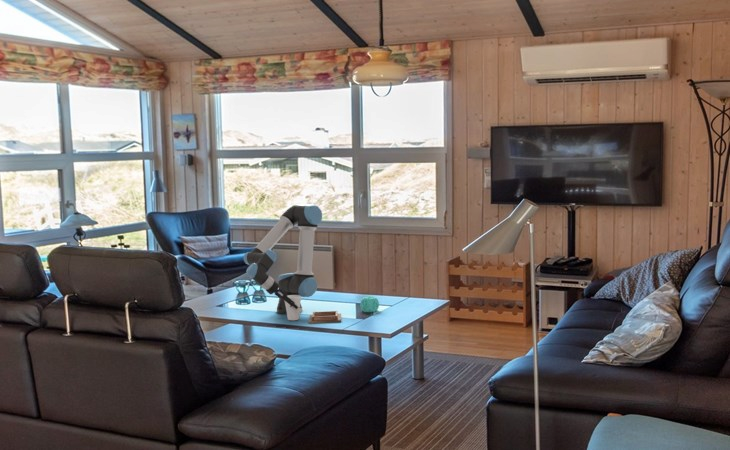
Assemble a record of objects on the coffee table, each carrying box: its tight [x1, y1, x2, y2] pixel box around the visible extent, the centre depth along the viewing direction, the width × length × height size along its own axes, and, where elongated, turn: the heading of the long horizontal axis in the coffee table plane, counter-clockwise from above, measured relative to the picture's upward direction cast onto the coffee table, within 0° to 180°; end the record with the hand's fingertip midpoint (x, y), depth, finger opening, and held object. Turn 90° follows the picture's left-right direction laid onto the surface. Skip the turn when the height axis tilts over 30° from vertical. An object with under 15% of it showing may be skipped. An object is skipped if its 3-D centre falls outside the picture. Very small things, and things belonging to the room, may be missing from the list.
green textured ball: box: [360, 296, 380, 313], centre depth 442 cm, size 8×8×8 cm
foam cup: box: [284, 295, 302, 321], centre depth 423 cm, size 10×9×13 cm
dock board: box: [308, 310, 342, 325], centre depth 422 cm, size 18×18×3 cm
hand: (298, 310), depth 425 cm, fingers closed on foam cup, 9 cm apart
